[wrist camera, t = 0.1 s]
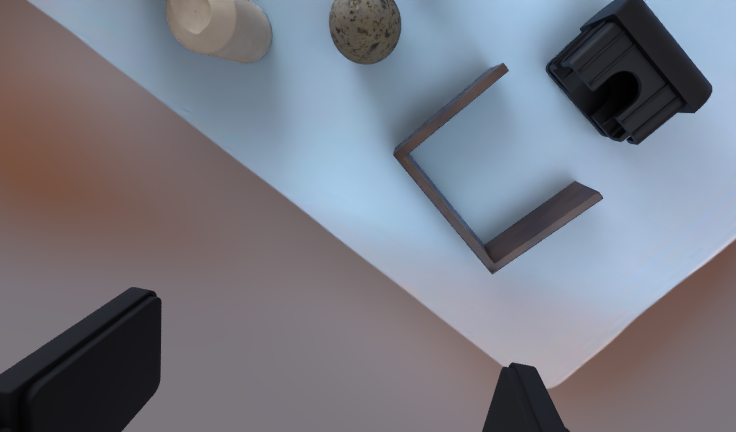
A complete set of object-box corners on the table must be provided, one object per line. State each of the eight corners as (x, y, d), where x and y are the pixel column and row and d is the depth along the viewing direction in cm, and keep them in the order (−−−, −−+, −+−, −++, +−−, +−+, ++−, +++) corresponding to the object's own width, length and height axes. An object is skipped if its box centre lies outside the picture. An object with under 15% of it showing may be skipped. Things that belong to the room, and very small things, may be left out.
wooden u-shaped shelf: (490, 67, 37) (503, 62, 32) (579, 186, 39) (604, 198, 34) (394, 148, 40) (392, 154, 35) (482, 255, 42) (492, 274, 37)
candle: (207, 41, 39) (141, 21, 29) (234, -12, 37) (173, -52, 27) (255, 75, 39) (205, 66, 29) (283, 24, 37) (240, -3, 28)
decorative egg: (330, 56, 38) (305, 41, 28) (348, -11, 36) (327, -52, 27) (389, 75, 38) (384, 66, 28) (410, 10, 36) (411, -24, 26)
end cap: (674, 86, 36) (734, 83, 29) (607, 142, 38) (649, 150, 31) (605, 2, 34) (651, -22, 28) (539, 64, 36) (568, 55, 30)
